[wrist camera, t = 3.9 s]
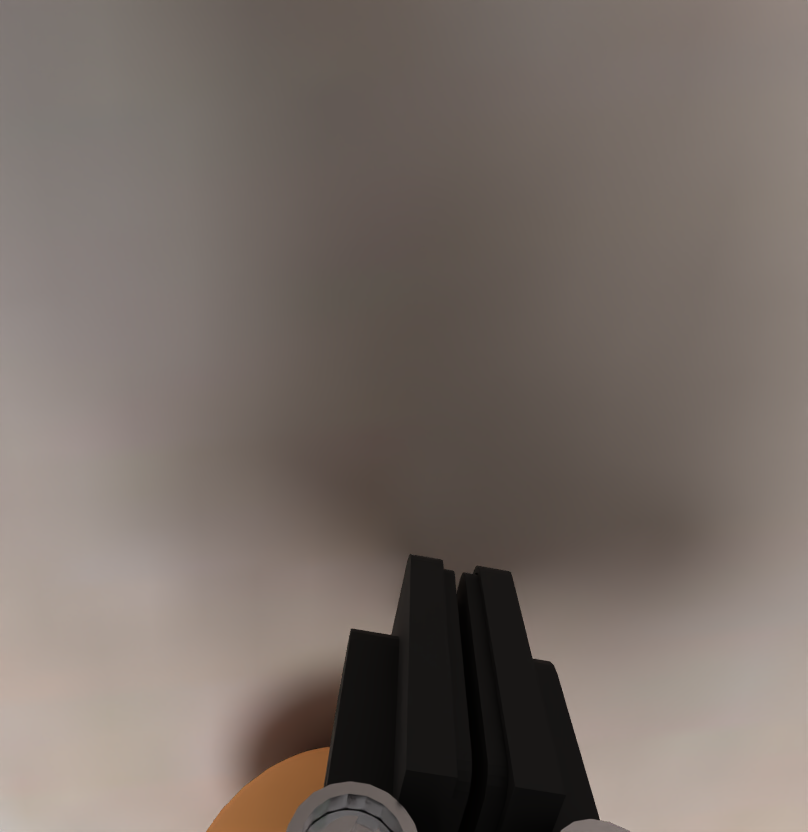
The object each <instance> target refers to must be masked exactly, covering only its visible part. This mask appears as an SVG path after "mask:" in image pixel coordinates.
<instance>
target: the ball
mask: <svg viewBox="0 0 808 832" xmlns="http://www.w3.org/2000/svg"><path fill="white" fill-rule="evenodd" d="M329 750H330V747H324V748H319V749H313V750H309V751H306V752H303V753H300V754H297V755H295V756H292V757H290V758H288V759H286V760H283V761H281V762H279V763H277V764H276V765H274V766H272V767H270V768H269V769H267V770H265V771H264V772H263V773H261V774H260V775H259V776H258V777H256V778H255V779H254V780H252V781H251V782H250V783H248V784H247V785H246V786H244V787H243V788H242V789H241V790H240V791H239V792H238V793H237V794H236V795H235V796H234V797H233V798H232V800H231V801H230V802H229V803H228V804H227V805H226V806H225V807H224V808H223V809H222V810H221V811H220V813H219V814H218V816H217V817H216V818H215V820H214V821H213V823H212V824H211V825H210V827H209V828H208V830H207V831H206V832H286V830H287V827H288V824H289V823H290V821H291V819H292V817H293V815H294V814H295V812H296V810H297V808H298V806H299V805H300V804H302V803H303V802H304V801H305V800H306V799H307V798H308V797H309V796H310V795H311V794H312V793H313V792H316V791H318V790H320V789H322V788H323V787H324V781H325V775H326V768H327V762H328V756H329Z"/></svg>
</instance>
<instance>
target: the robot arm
mask: <svg viewBox="0 0 808 832" xmlns="http://www.w3.org/2000/svg"><path fill="white" fill-rule="evenodd" d="M286 832H630V831H629V830H626V829H624V828H622V827H620V826H617V825H615V824H613V823H611V822H607V821H601V820H600V819H599V815H598V812H597V808H596V805H595V802H594V798H593V795H592V791H591V788H590V784H589V781H588V778H587V774H586V771H585V767H584V764H583V760H582V757H581V754H580V750H579V747H578V743H577V740H576V736H575V733H574V729H573V726H572V723H571V719H570V716H569V712H568V709H567V705H566V702H565V699H564V695H563V692H562V688H561V685H560V681H559V678H558V675H557V672H556V669H555V667H554V665H553V664H552V663H551V662H550V661H544V660H538V659H532V655H531V651H530V647H529V642H528V638H527V634H526V630H525V626H524V622H523V618H522V614H521V610H520V606H519V602H518V598H517V594H516V590H515V586H514V582H513V578H512V575H511V572H509V571H505V570H499V569H493V568H487V567H481V566H476V567H475V569H474V572H473V574H470V573H462V576H461V578H460V582H459V586H458V590H457V594H456V583H455V574H454V571H452V570H446V569H444V567H443V560H441V559H435V558H429V557H423V556H417V555H412V554H410V555H409V558H408V561H407V565H406V570H405V575H404V579H403V584H402V588H401V593H400V598H399V602H398V607H397V612H396V616H395V621H394V625H393V630H392V635H387V634H381V633H375V632H369V631H363V630H357V629H351V631H350V636H349V641H348V646H347V652H346V657H345V662H344V668H343V673H342V679H341V684H340V690H339V696H338V701H337V707H336V713H335V719H334V725H333V731H332V738H331V744H330V750H329V756H328V762H327V768H326V775H325V781H324V787H323V788H322V789H320V790H318V791H316V792H313V793H312V794H311V795H310V796H309V797H308V798H307V799H306V800H305V801H304V802H303V803H302V804H300V805H299V806H298V808H297V810H296V812H295V814H294V815H293V817H292V819H291V821H290V823H289V824H288V827H287V830H286Z"/></svg>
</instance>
